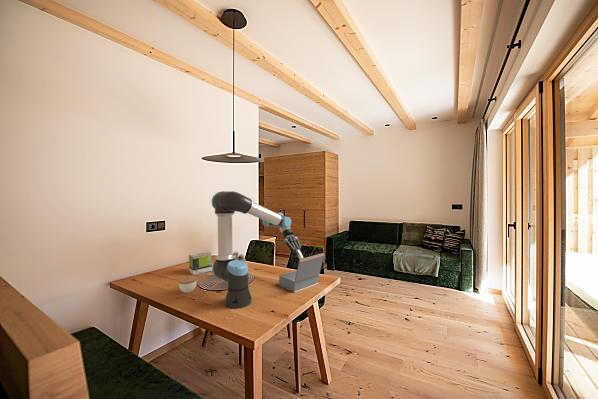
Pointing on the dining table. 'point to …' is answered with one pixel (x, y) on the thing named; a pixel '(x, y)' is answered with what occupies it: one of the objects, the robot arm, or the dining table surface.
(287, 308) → the dining table surface
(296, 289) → the mailer box
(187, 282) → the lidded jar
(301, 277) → the lid
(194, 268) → the tea box
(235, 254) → the owl figurine
